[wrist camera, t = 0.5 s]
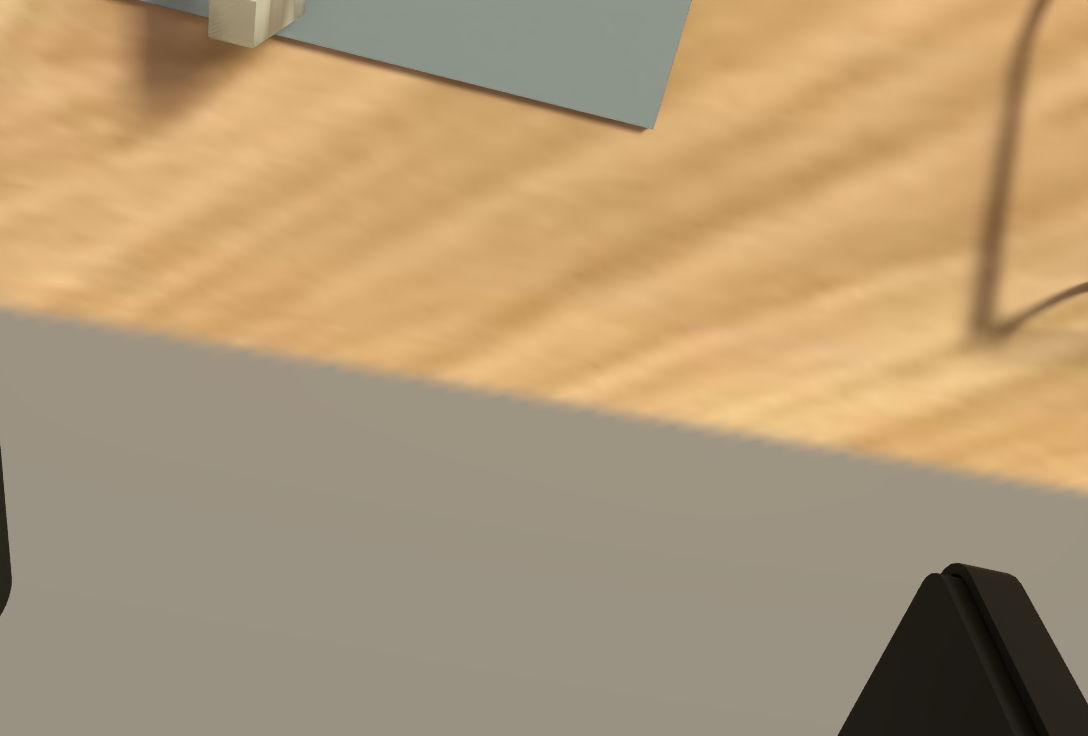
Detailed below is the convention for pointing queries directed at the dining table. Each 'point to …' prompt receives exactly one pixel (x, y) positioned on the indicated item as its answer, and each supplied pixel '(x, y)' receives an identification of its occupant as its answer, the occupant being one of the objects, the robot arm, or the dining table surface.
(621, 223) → the dining table surface
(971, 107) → the dining table surface
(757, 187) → the dining table surface
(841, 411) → the dining table surface
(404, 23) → the card
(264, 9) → the fence gate
